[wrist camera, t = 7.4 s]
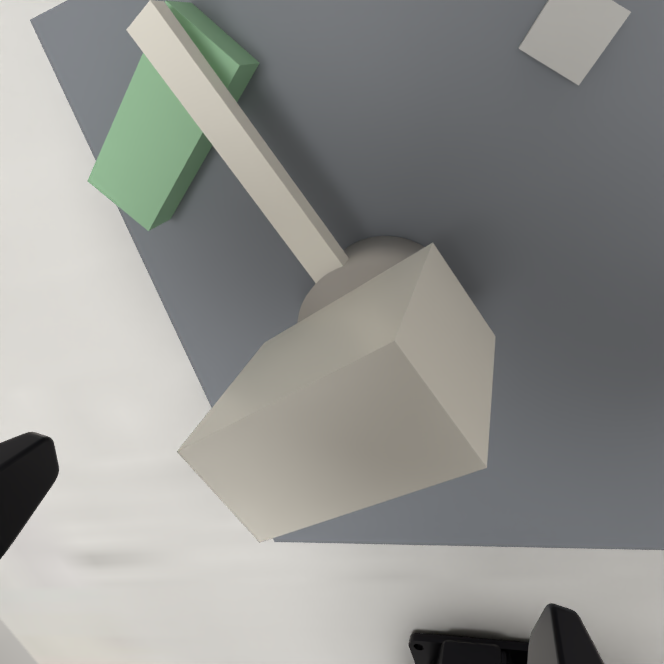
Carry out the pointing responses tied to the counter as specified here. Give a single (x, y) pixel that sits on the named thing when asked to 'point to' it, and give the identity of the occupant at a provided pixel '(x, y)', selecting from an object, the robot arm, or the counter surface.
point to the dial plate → (422, 220)
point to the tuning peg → (331, 347)
